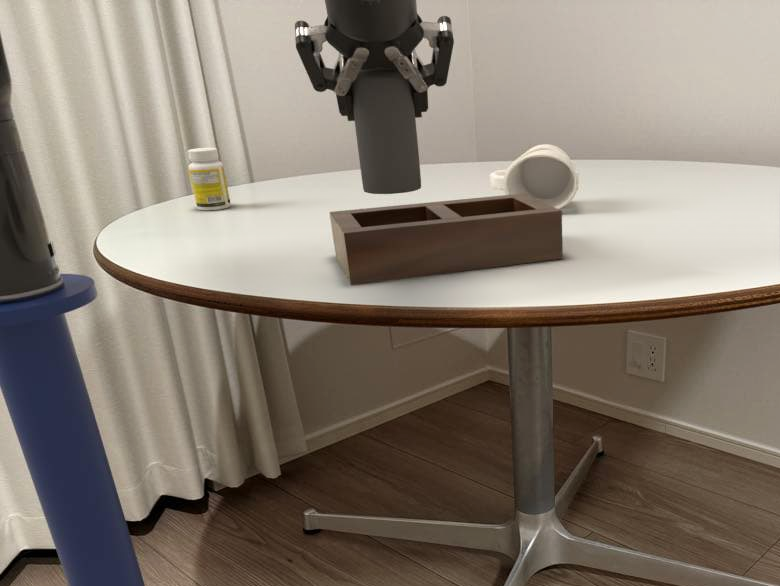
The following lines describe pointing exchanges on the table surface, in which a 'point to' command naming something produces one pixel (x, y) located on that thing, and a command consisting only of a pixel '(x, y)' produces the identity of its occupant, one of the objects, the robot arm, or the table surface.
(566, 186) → the mug
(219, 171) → the supplement bottle
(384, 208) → the box
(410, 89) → the bottle
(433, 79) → the robot arm
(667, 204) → the table surface
